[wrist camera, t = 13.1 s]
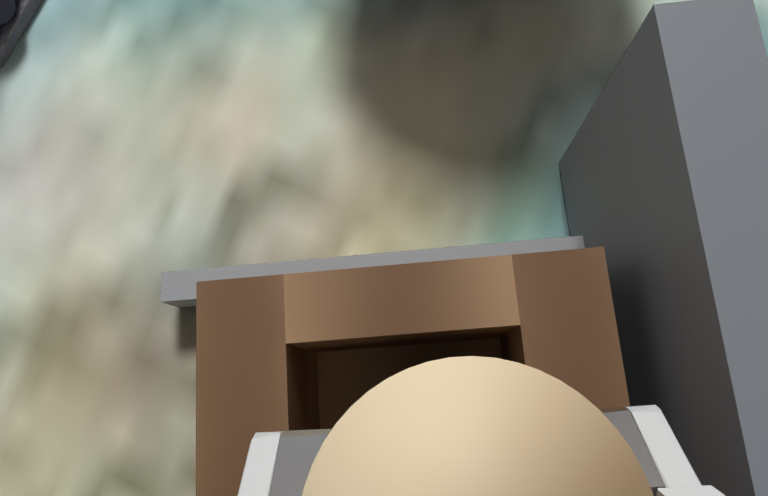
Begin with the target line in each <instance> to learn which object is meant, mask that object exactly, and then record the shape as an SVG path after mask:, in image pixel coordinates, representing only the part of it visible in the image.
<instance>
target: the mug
mask: <svg viewBox="0 0 768 496" xmlns="http://www.w3.org/2000/svg"><path fill="white" fill-rule="evenodd" d="M41 2H42V0H0V67H2V66H3V65H4V63H5V62H6V60H7V58H8V57H9V55H10V53H11V52H12V50H13V48H14V47H15V45H16V43H17V42H18V40H19V38H20V37H21V35H22V33H23V32H24V30H25V28H26V27H27V25H28V23H29V22H30V20H31V18H32V17H33V15H34V13H35V12H36V10H37V8H38V7H39V5H40V3H41Z"/></svg>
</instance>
